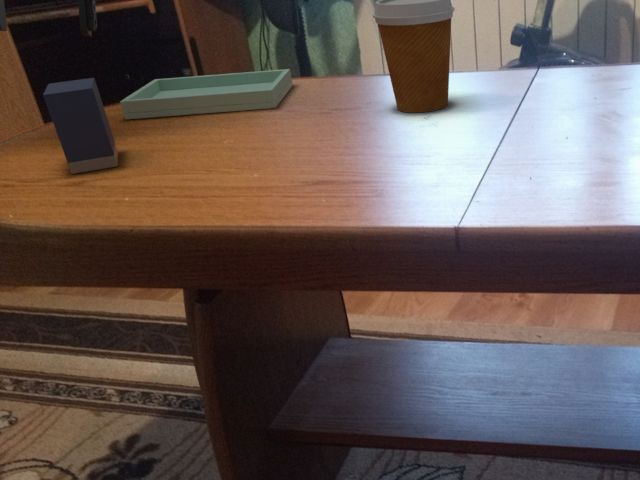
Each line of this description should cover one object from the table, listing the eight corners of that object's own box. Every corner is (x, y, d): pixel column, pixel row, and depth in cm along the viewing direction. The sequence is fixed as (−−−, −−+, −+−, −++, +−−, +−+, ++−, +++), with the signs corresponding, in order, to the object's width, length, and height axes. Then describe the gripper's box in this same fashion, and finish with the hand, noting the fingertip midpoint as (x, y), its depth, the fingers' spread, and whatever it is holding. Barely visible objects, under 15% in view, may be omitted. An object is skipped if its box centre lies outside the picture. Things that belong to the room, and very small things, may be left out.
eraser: (74, 159, 80) (48, 83, 76) (118, 152, 82) (94, 77, 77) (71, 174, 76) (42, 94, 71) (117, 166, 77) (92, 87, 73)
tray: (125, 119, 95) (119, 101, 94) (158, 95, 107) (154, 79, 105) (275, 108, 95) (272, 89, 94) (293, 85, 106) (290, 68, 105)
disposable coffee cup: (456, 114, 86) (448, 2, 79) (377, 117, 87) (362, 7, 81) (465, 95, 94) (458, -9, 87) (392, 98, 95) (380, -4, 89)
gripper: (108, -111, 83) (120, 43, 86) (-36, -127, 79) (-17, 34, 83) (93, -138, 76) (107, 31, 79) (-66, -157, 72) (-44, 20, 76)
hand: (43, 32), depth 81 cm, fingers open, 8 cm apart
